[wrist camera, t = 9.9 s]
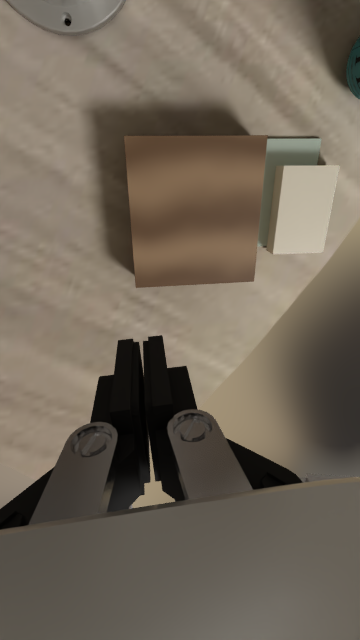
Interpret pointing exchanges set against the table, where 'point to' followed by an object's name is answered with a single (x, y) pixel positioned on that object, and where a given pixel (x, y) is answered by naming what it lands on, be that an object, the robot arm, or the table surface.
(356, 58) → the beverage bottle
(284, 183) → the cream rectangular block
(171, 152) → the flat brown wooden block
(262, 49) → the table surface
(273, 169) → the mat
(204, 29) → the table surface
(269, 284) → the table surface
